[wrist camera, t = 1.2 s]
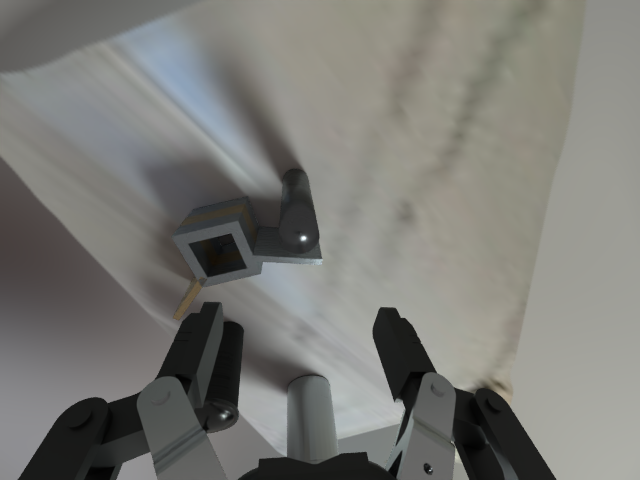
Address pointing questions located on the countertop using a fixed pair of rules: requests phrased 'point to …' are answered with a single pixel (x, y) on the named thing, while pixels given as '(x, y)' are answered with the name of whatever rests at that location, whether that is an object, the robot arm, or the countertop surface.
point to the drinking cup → (223, 383)
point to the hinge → (229, 246)
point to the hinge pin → (297, 214)
